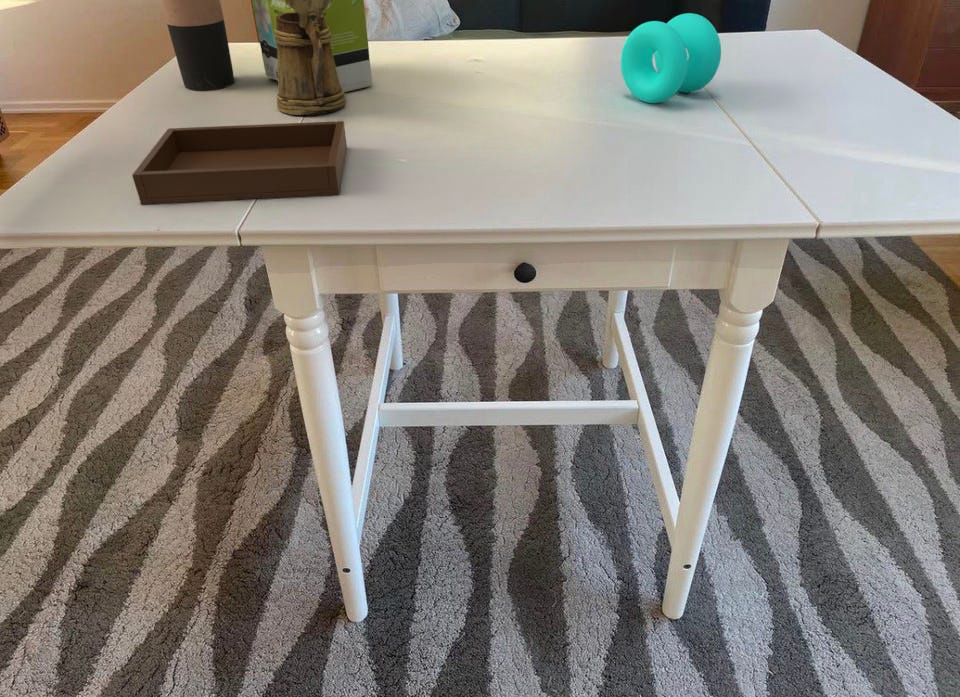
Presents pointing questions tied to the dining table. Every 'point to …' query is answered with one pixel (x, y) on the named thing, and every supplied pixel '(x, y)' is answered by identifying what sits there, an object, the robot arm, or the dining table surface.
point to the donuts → (670, 57)
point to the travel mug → (200, 43)
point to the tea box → (346, 42)
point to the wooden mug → (306, 61)
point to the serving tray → (243, 163)
